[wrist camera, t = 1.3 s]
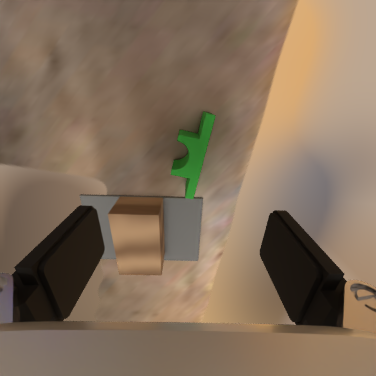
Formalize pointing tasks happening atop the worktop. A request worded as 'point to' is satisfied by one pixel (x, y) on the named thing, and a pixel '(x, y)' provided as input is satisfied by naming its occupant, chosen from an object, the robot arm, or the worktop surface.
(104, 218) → the mat
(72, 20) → the worktop surface
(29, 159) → the worktop surface
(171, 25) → the worktop surface
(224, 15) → the worktop surface
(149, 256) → the base brick
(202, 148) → the green notched block
